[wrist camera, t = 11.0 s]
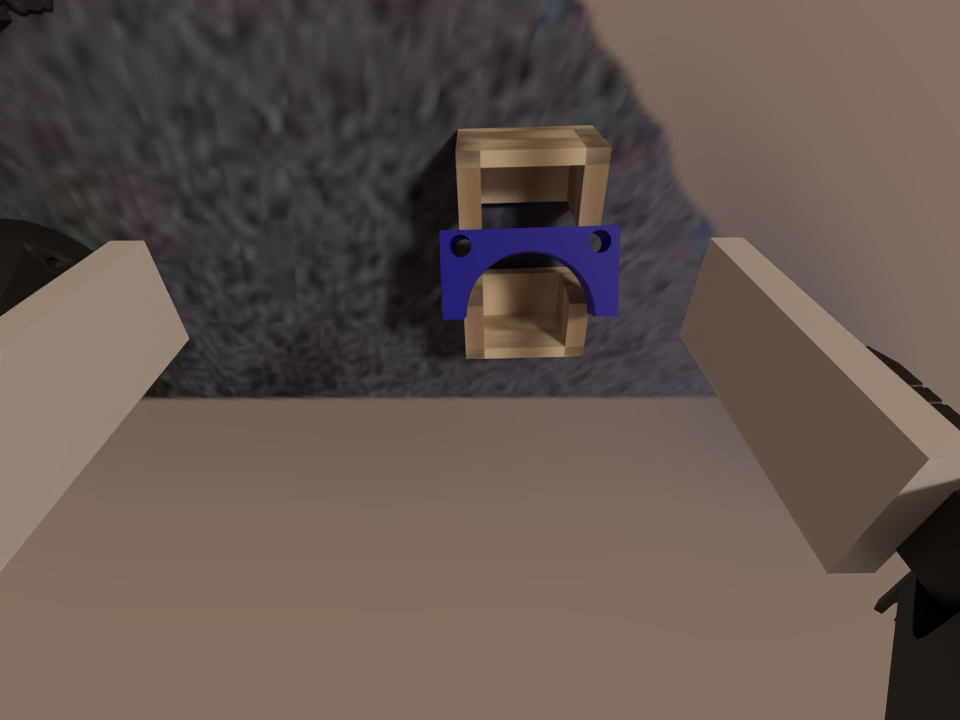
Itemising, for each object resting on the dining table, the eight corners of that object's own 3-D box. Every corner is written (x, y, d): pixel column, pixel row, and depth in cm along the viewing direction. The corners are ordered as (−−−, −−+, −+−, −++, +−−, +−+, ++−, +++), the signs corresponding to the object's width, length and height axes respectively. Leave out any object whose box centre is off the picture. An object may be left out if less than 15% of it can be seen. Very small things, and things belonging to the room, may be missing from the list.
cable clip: (446, 235, 36) (449, 314, 37) (439, 230, 31) (442, 319, 33) (604, 231, 35) (603, 310, 37) (620, 225, 31) (617, 315, 32)
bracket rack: (466, 318, 43) (466, 359, 38) (458, 129, 33) (455, 151, 29) (570, 316, 43) (582, 356, 38) (591, 125, 33) (611, 147, 29)
